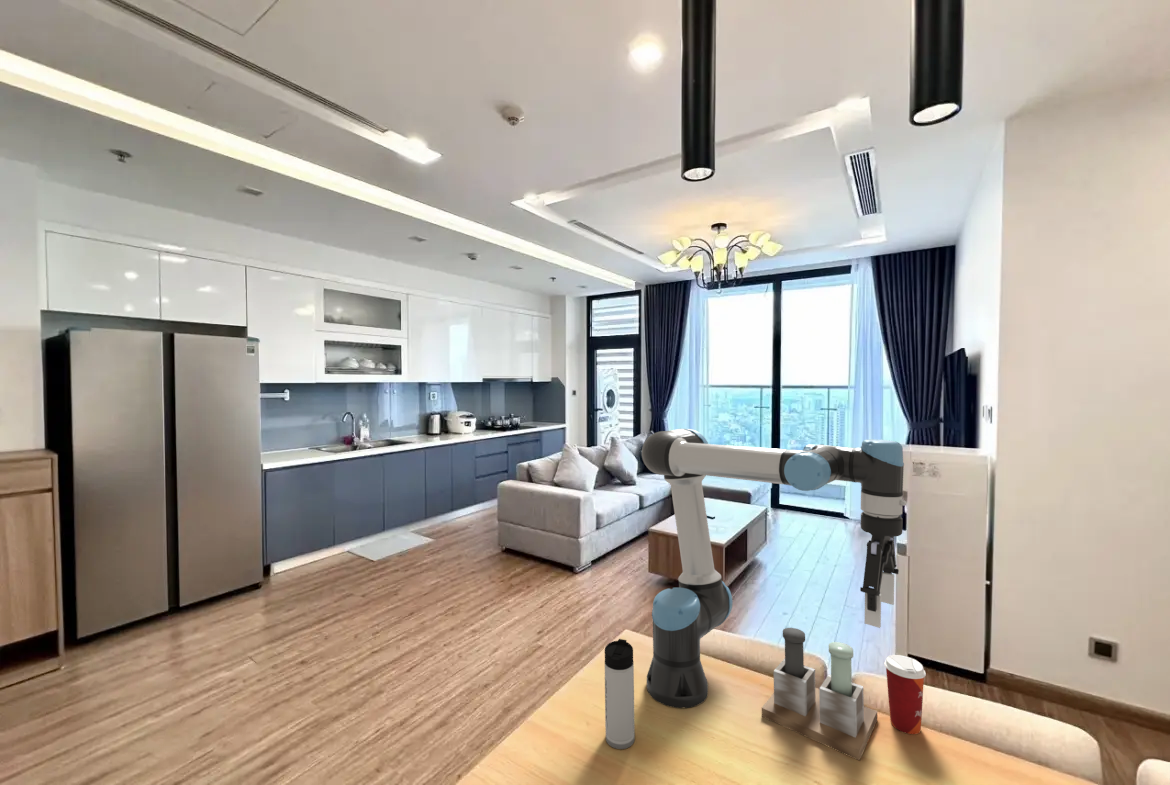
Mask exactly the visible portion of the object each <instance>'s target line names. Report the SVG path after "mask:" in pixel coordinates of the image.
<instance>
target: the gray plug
mask: <svg viewBox="0 0 1170 785" xmlns="http://www.w3.org/2000/svg"><path fill="white" fill-rule="evenodd" d="M782 638H783V639H784V658H785V673H787V674H790V675H792V676H795V677H798V678H800V679H802V678H803V677H804V665H805V662H804V661H805V660H804V658H805V656H804V643H805V642H806V633H805V632H804V631H803V630H801V629H800V628H799V629H798V628H795V627H785V628H783V630H782Z"/></svg>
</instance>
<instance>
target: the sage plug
mask: <svg viewBox="0 0 1170 785" xmlns="http://www.w3.org/2000/svg"><path fill="white" fill-rule="evenodd" d="M828 653H829V654H830V675H831V690H832V691H835V692H838V693H840V694H843V695H846V696H848V697H852V683H853V682H852V681H853V677H852V675H853V672H852V667H853V666H852V659H853V658H854V649H853V647H851V645H849V644H846V643H844V642H838V641H833V642H830V643H828Z"/></svg>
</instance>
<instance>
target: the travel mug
mask: <svg viewBox="0 0 1170 785" xmlns="http://www.w3.org/2000/svg"><path fill="white" fill-rule="evenodd" d="M634 667H635V666H634V647H633V646H632V644H630V643H629V642H627V639H621V638H619V639H618V640H614V641H611V642H609V643H608V644H606V645H605V647H604V708H605V709H604V710H605V711H604V714H605V716H604V718H605V719H604V720H605V722H604V723H605V741H606V743H607V745H609V746H610V747H611V748H612V749H618V750H626V749H627V748H630V747H632V745H633V744H634V743H635V739H636V738H635V733H636V732H635V682H634V681H635V680H634V679H635V677H634V676H635V673H634V672H635V669H634Z"/></svg>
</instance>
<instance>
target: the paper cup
mask: <svg viewBox="0 0 1170 785" xmlns="http://www.w3.org/2000/svg"><path fill="white" fill-rule="evenodd" d="M883 665H884V667H885V670H886V682H887V686H886V687H887V695H888V696H887V697H888V708H889V709H888V710H889V718H890V719H889V720H890V723H891V725H892V726H893V727H894V728H895V729H896V730H898V731H900V732H901V733H905V734H908V735H918V734H920V733H921V728H922V717H923V716H922V715H923V704H924V703H923V701H924V685H925V684H924V683H925V682H924V681H925V677H926V676H927V674H926V670H924V666H923V664H922V663H921V662H919V661H918V660H917V659H915V658H913V657H909V656H906V655H902V654H891V655H888V656H887V657H886V658H885V661H884V664H883Z"/></svg>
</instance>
